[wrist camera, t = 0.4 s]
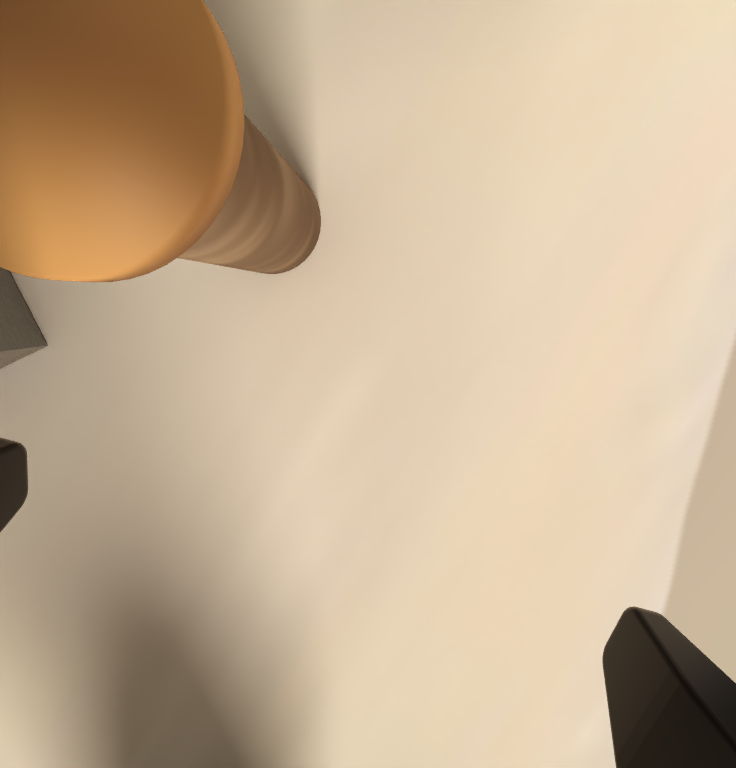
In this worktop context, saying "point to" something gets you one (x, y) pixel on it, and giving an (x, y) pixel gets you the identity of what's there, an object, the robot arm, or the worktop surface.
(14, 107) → the pin
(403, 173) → the worktop surface
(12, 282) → the block
